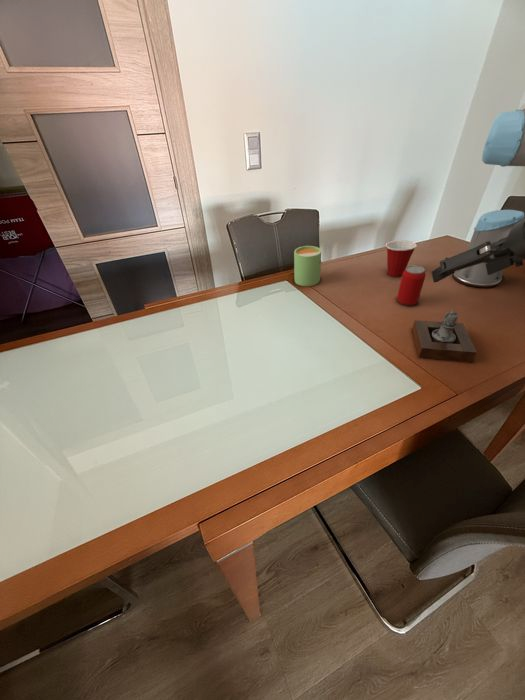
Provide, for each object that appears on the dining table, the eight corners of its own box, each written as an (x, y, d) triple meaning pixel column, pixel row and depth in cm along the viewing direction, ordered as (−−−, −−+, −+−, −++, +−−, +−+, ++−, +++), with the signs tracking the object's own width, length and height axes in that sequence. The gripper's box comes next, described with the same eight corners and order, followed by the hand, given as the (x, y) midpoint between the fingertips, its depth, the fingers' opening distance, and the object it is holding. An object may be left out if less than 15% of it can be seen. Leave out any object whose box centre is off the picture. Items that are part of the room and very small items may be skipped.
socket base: (459, 332, 89) (463, 323, 87) (471, 362, 80) (476, 352, 78) (411, 329, 92) (414, 320, 90) (418, 357, 83) (421, 347, 80)
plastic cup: (397, 265, 125) (404, 236, 117) (415, 276, 117) (423, 245, 109) (374, 270, 123) (379, 241, 115) (391, 282, 115) (398, 251, 107)
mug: (323, 284, 118) (325, 254, 110) (296, 287, 117) (296, 257, 110) (316, 270, 127) (317, 242, 120) (291, 273, 127) (291, 245, 119)
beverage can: (417, 297, 106) (426, 265, 98) (417, 307, 101) (427, 274, 93) (396, 295, 108) (403, 263, 100) (396, 305, 103) (404, 272, 95)
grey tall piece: (454, 352, 83) (470, 316, 75) (431, 351, 84) (445, 315, 76) (448, 339, 88) (462, 303, 80) (426, 338, 89) (438, 303, 81)
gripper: (481, 261, 51) (414, 295, 72) (620, 242, 52) (513, 281, 73) (472, 219, 51) (408, 264, 72) (609, 201, 52) (507, 251, 74)
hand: (461, 273), depth 73 cm, fingers open, 13 cm apart
